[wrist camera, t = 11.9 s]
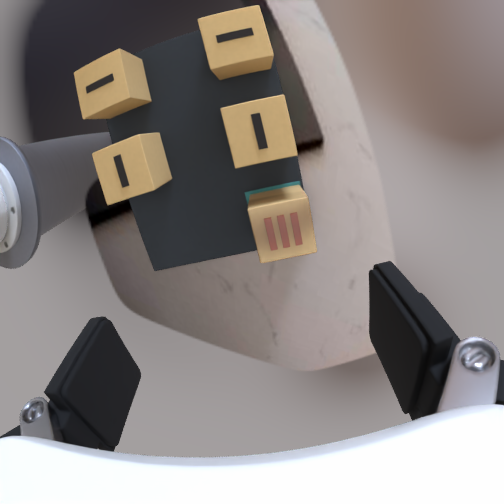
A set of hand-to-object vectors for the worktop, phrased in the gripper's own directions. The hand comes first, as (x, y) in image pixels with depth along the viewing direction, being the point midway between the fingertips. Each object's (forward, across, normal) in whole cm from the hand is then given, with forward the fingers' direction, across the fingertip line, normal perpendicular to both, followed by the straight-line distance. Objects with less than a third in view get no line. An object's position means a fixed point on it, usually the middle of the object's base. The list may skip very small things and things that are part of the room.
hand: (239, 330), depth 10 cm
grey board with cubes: (+17, +3, -6) cm, 18 cm away
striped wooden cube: (+16, -3, +1) cm, 16 cm away
